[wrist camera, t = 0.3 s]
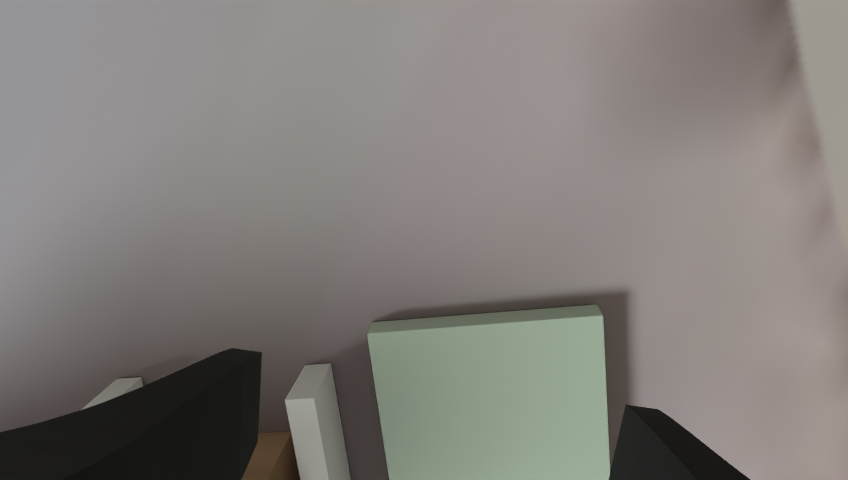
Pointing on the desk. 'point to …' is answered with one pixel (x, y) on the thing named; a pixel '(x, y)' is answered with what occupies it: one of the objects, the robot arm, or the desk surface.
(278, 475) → the walnut block
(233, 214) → the desk surface
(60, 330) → the desk surface
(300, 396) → the parallel rails
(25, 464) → the robot arm
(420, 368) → the mat
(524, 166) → the desk surface
